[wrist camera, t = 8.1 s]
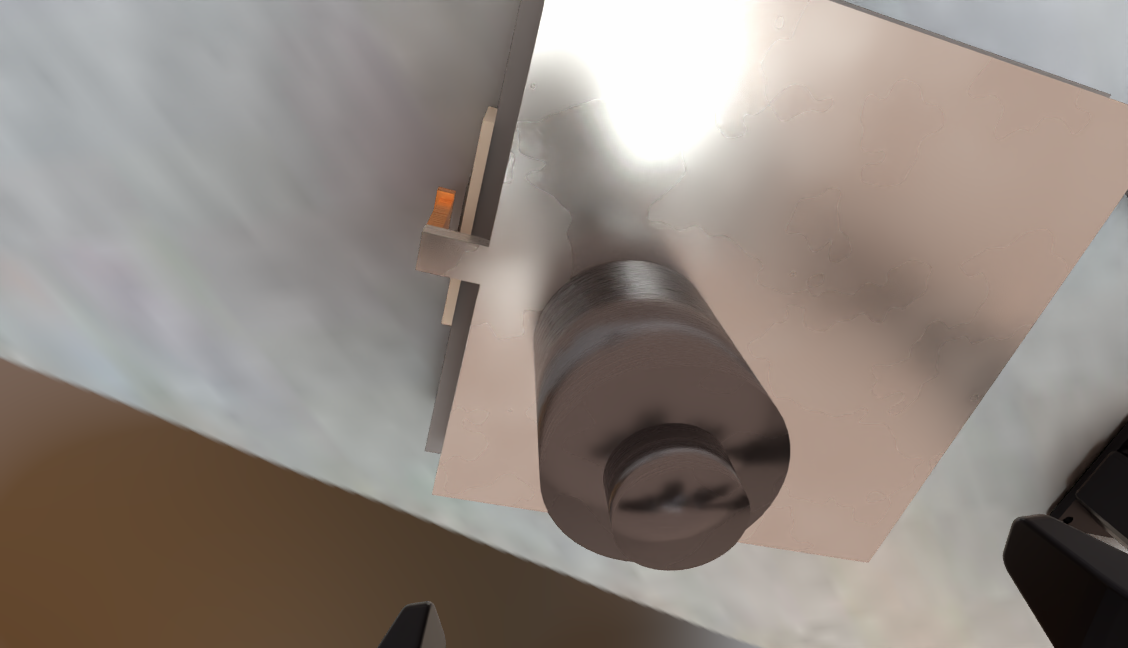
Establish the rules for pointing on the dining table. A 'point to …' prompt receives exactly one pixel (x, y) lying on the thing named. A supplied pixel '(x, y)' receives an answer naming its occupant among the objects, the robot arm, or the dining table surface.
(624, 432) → the weight
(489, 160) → the scale base
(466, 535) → the dining table surface
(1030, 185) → the scale pan
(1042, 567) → the robot arm
